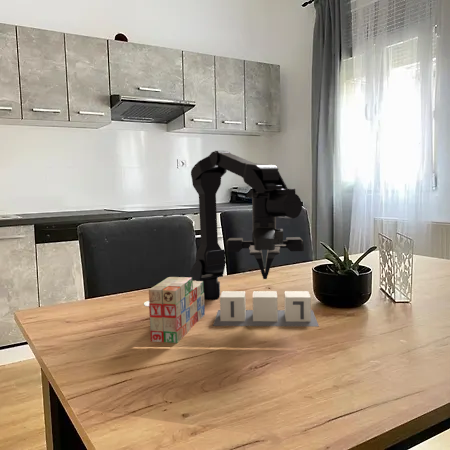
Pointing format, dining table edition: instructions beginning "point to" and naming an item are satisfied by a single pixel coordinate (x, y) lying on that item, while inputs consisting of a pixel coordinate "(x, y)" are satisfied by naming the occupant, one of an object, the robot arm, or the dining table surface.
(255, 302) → the blank block
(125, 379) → the dining table surface
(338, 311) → the dining table surface
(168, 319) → the stack of blocks
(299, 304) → the digit block 7
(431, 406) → the dining table surface
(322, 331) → the dining table surface
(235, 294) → the digit block 1
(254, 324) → the tap mat
